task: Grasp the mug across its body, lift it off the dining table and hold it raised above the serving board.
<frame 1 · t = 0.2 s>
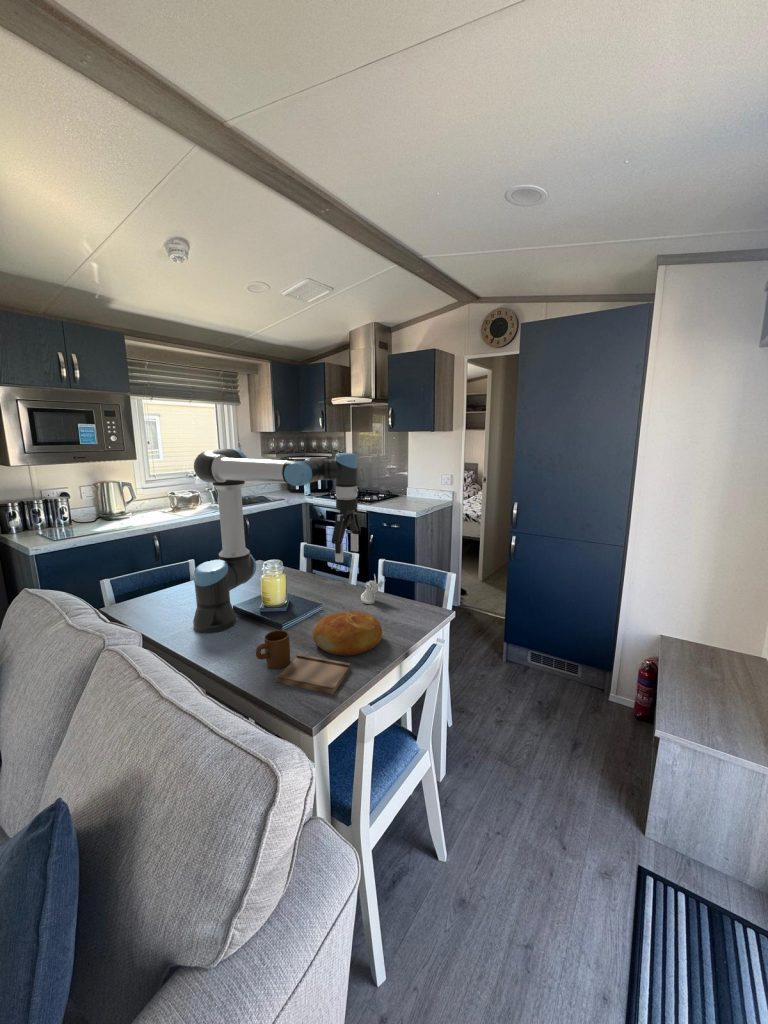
hand: (347, 556, 153), 28 cm above the table, fingers open, 13 cm apart
mug: (273, 666, 134), on the table
bread: (348, 643, 149), on the table
board: (314, 675, 129), on the table
figurine: (373, 602, 182), on the table
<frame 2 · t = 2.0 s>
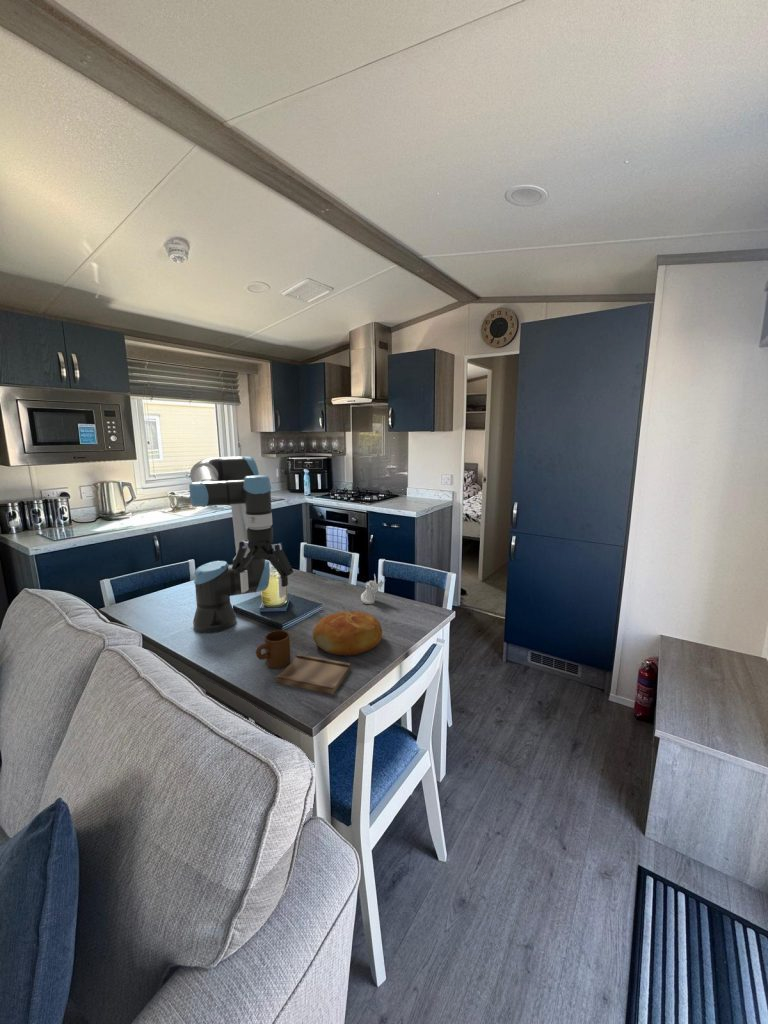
hand: (263, 593, 133), 22 cm above the table, fingers open, 13 cm apart
nothing on the table moved.
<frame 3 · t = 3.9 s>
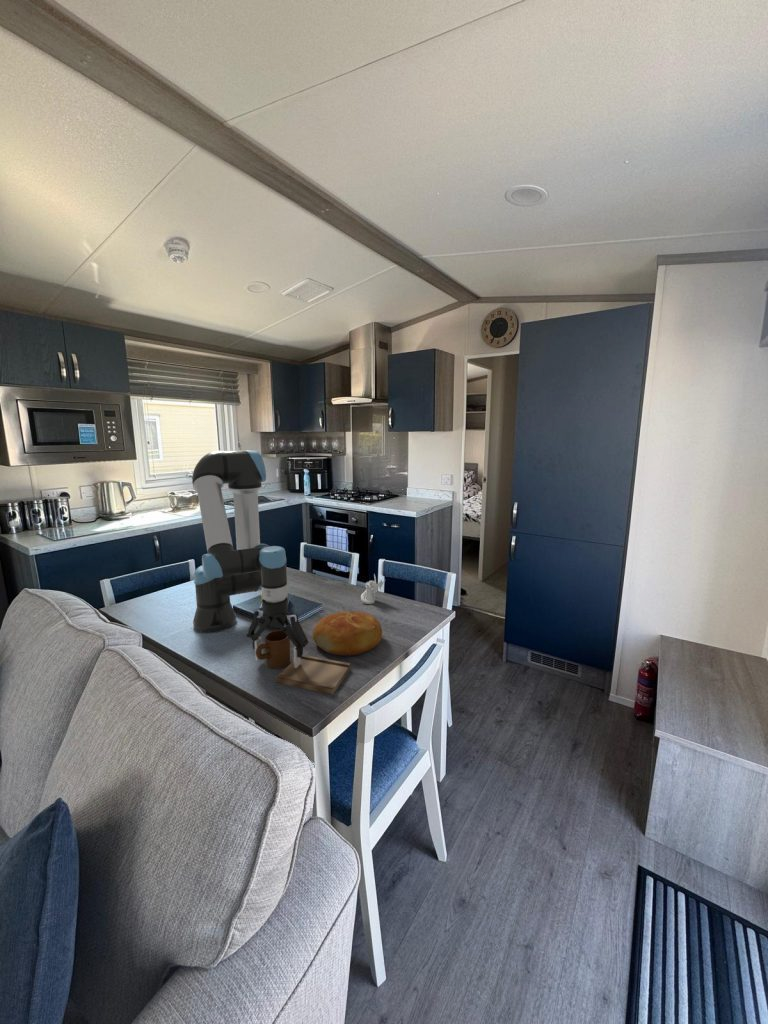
hand: (278, 662, 133), 2 cm above the table, fingers open, 13 cm apart
nothing on the table moved.
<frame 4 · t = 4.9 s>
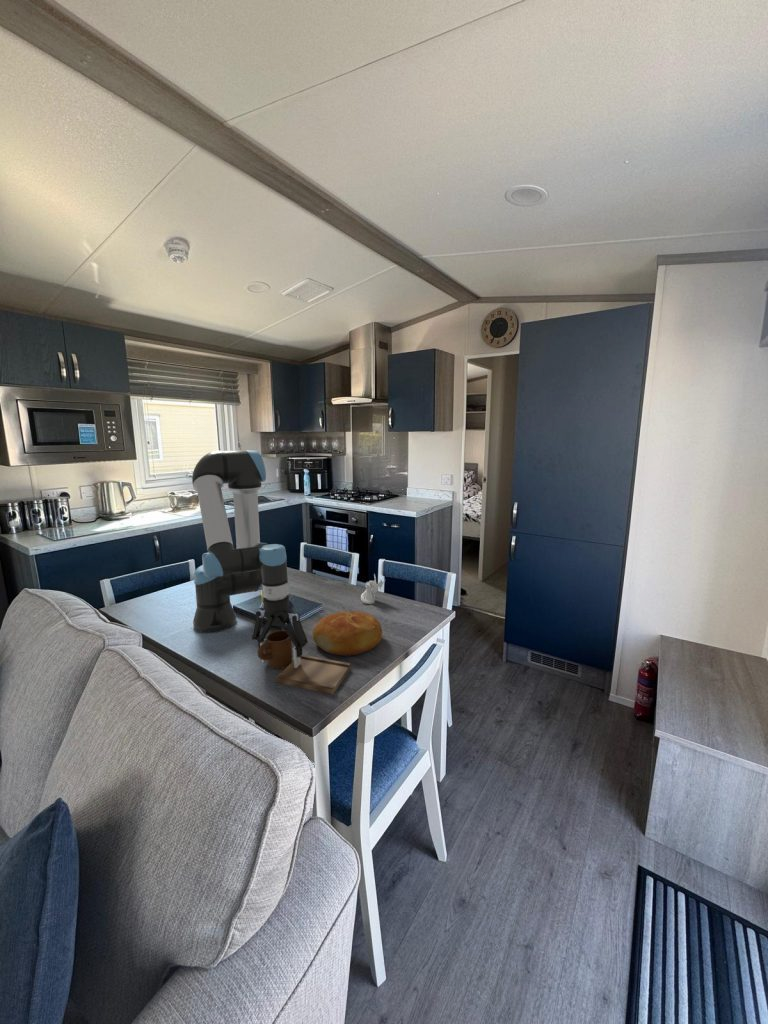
hand: (281, 663, 133), 1 cm above the table, fingers open, 11 cm apart
mug: (274, 666, 134), on the table, touching gripper
everything else where it was.
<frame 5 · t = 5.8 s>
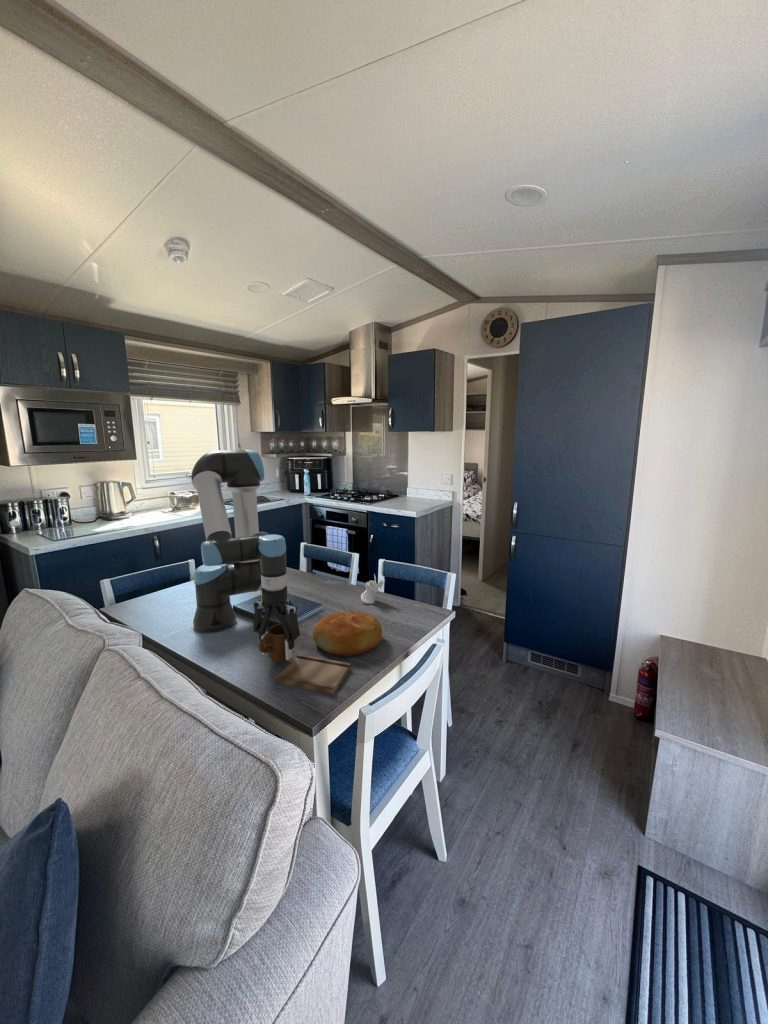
hand: (277, 655, 133), 4 cm above the table, fingers closed on mug, 8 cm apart
mug: (275, 659, 134), point 2 cm above the table, touching gripper
everything else where it was.
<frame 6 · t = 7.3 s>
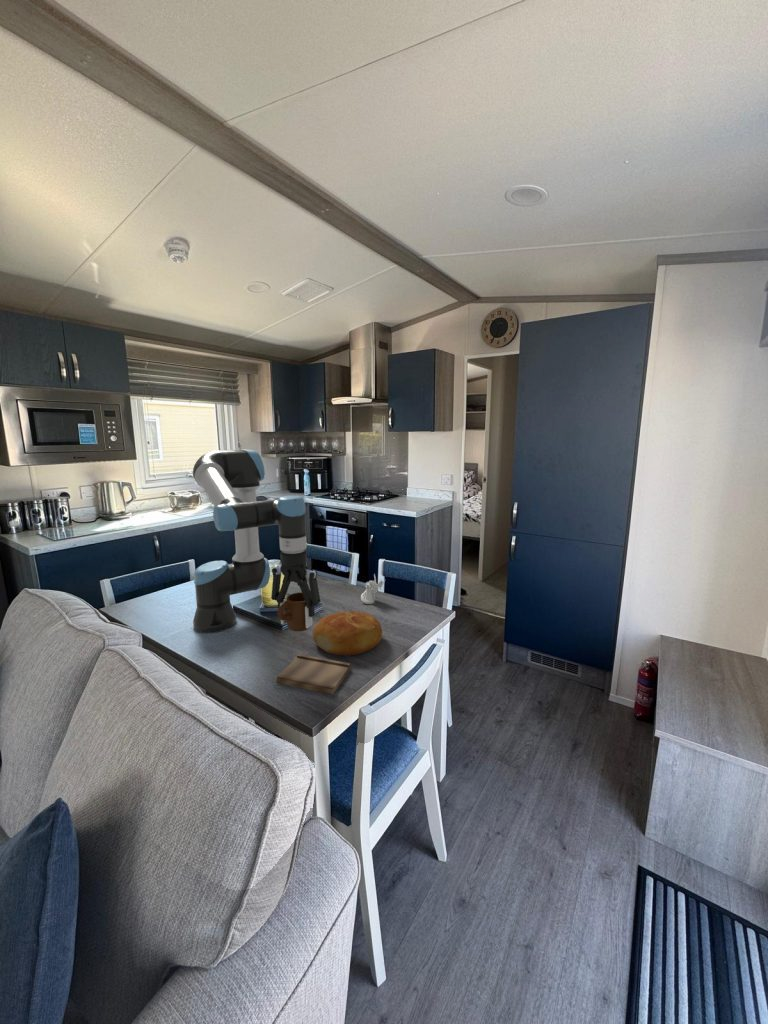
hand: (296, 624, 127), 16 cm above the table, fingers closed on mug, 8 cm apart
mug: (294, 629, 127), point 14 cm above the table, touching gripper
everything else where it was.
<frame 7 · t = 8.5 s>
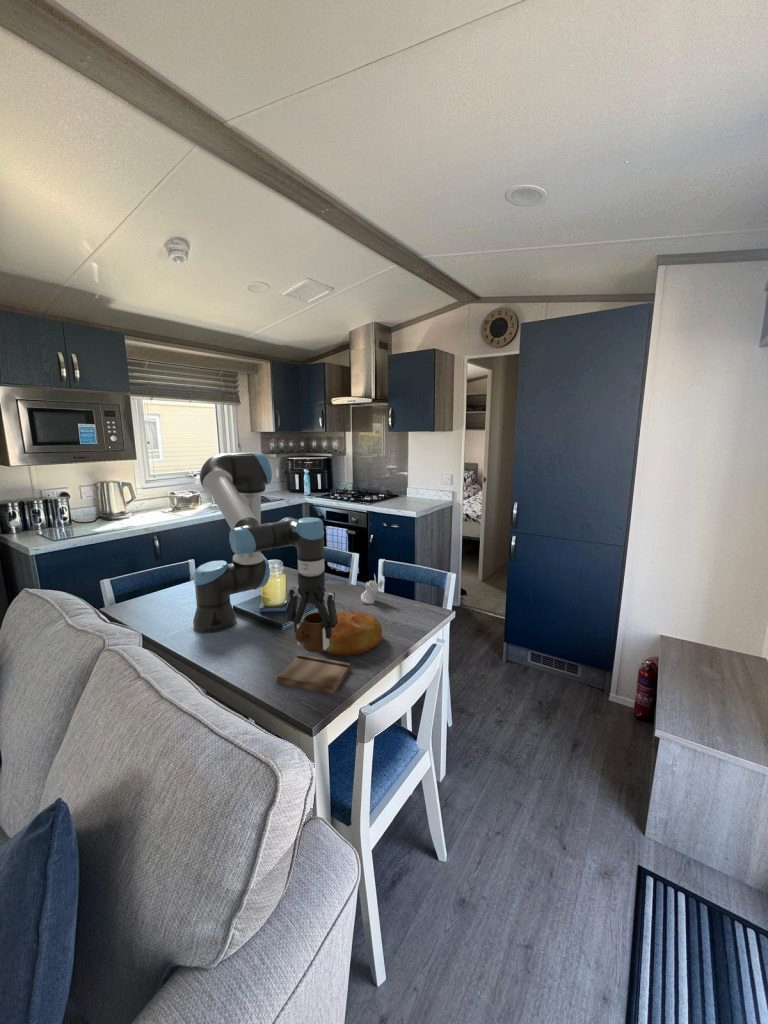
hand: (313, 645, 127), 10 cm above the table, fingers closed on mug, 8 cm apart
mug: (310, 650, 127), point 8 cm above the table, touching gripper
everything else where it was.
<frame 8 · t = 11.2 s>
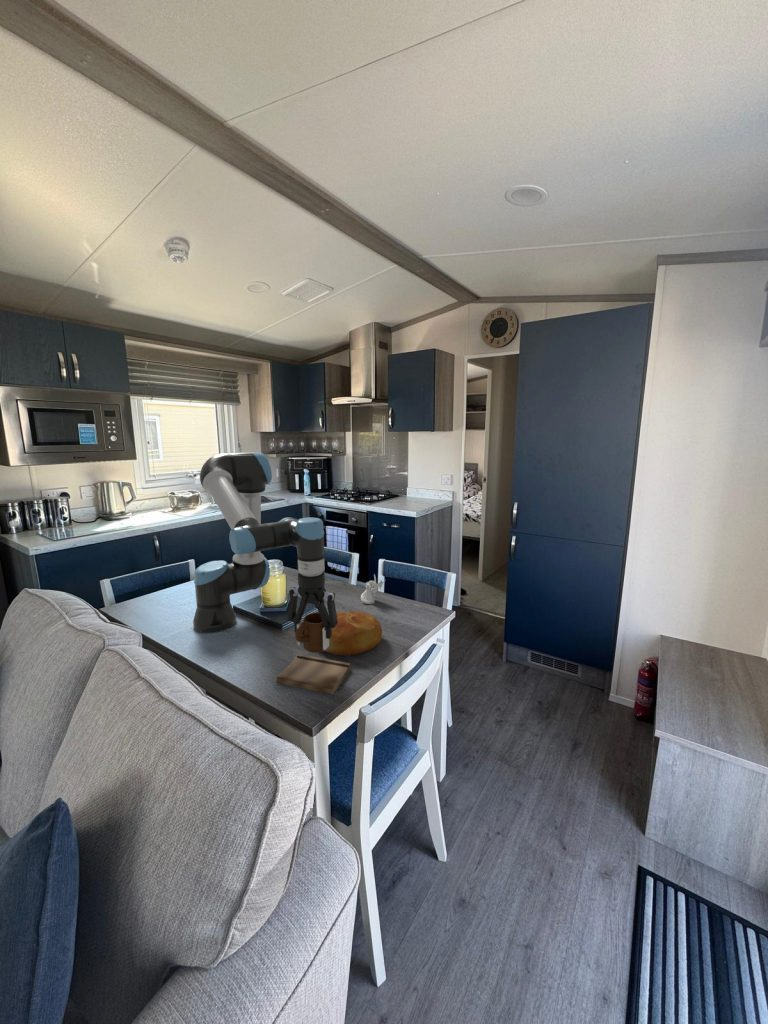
hand: (313, 645, 127), 10 cm above the table, fingers closed on mug, 8 cm apart
mug: (310, 650, 127), point 8 cm above the table, touching gripper
everything else where it was.
at the end: the gripper is holding mug; mug point 8.3 cm above the table; mug 0.9 cm from the board (horizontally) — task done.
